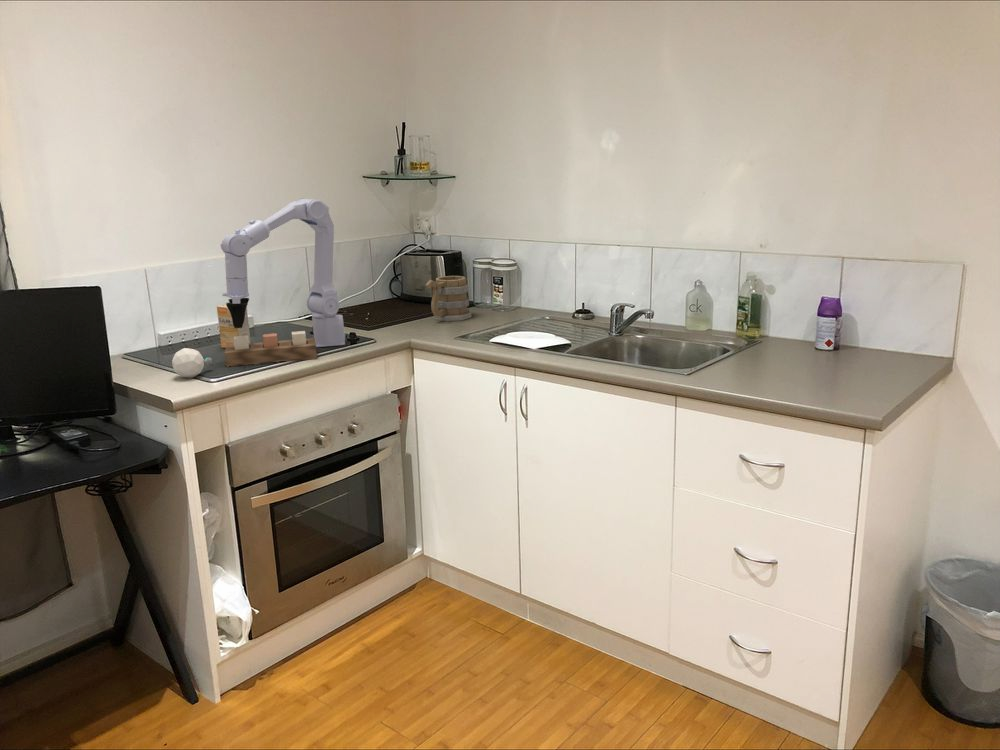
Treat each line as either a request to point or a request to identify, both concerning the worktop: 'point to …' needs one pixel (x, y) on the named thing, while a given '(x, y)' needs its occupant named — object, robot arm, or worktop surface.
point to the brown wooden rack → (270, 353)
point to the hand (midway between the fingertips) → (239, 325)
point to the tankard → (449, 298)
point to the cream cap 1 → (241, 342)
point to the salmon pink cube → (270, 340)
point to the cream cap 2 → (299, 338)
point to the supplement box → (230, 326)
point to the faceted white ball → (189, 362)
